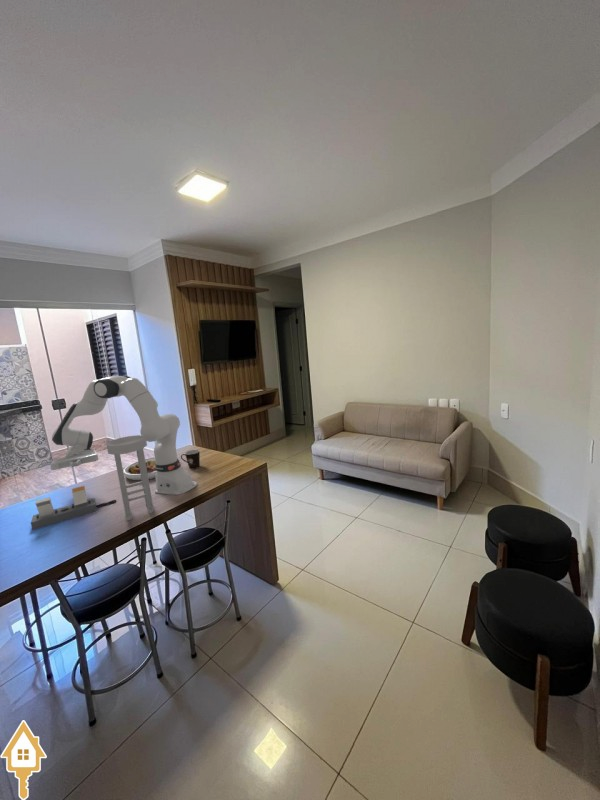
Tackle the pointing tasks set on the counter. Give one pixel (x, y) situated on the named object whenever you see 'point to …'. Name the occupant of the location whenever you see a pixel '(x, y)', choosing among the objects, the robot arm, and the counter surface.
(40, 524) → the power strip
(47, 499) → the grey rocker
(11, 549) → the counter surface
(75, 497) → the white upright block
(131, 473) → the bowl
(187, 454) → the coffee mug
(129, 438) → the stool
